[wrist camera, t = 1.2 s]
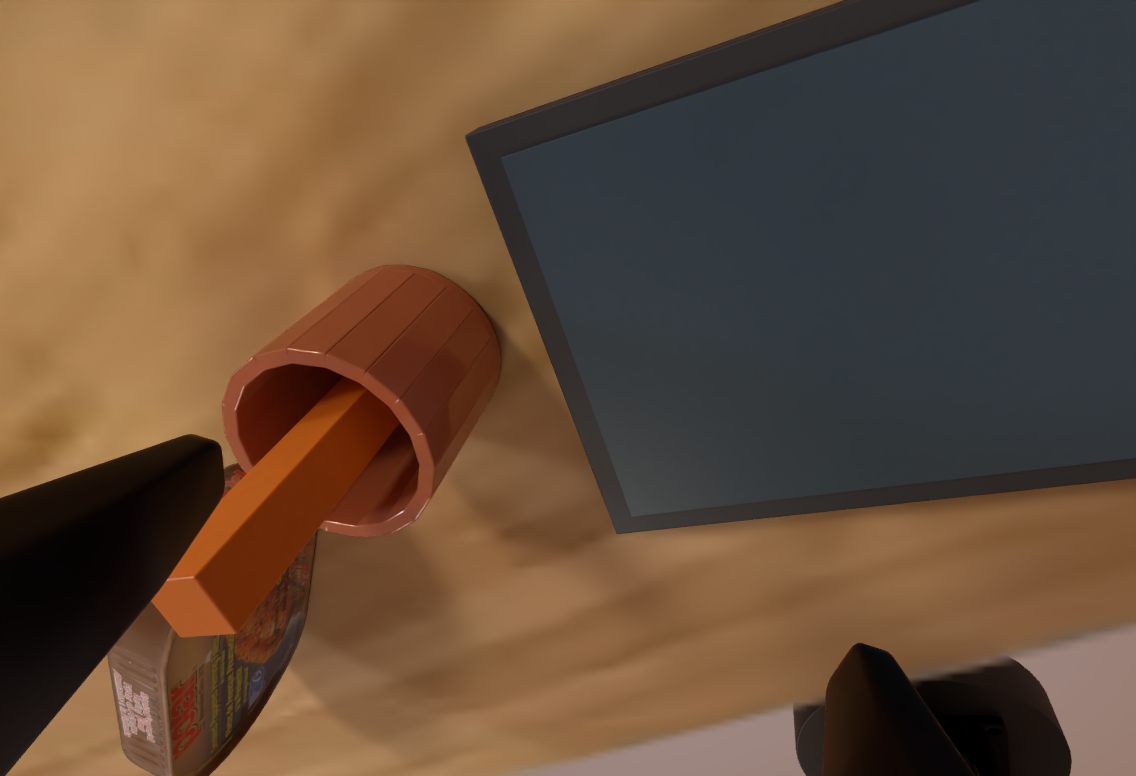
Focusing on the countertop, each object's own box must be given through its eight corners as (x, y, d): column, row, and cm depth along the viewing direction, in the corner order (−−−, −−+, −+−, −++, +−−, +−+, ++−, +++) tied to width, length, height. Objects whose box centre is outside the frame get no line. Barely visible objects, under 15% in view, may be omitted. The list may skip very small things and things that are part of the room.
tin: (300, 661, 35) (187, 836, 28) (243, 638, 35) (115, 806, 28) (331, 440, 26) (181, 609, 19) (256, 411, 27) (78, 568, 19)
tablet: (1436, 415, 18) (1482, 444, 16) (621, 512, 25) (616, 536, 24) (1619, -271, 12) (1710, -296, 10) (478, 127, 19) (462, 136, 18)
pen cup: (528, 408, 24) (469, 525, 19) (379, 435, 26) (291, 546, 21) (459, 243, 21) (370, 327, 16) (301, 288, 23) (178, 374, 18)
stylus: (439, 371, 23) (237, 634, 14) (400, 380, 24) (180, 638, 14) (420, 329, 22) (193, 577, 13) (379, 339, 23) (135, 583, 14)
